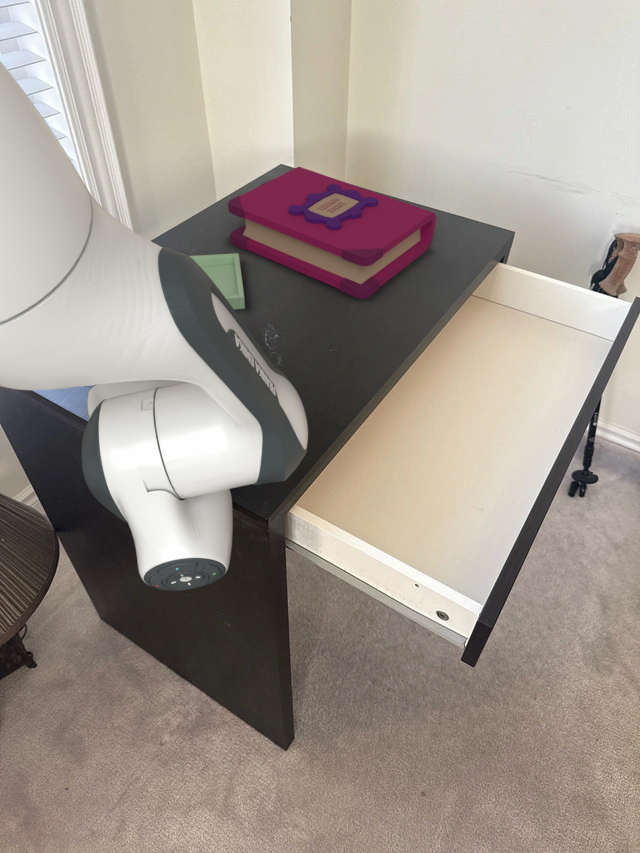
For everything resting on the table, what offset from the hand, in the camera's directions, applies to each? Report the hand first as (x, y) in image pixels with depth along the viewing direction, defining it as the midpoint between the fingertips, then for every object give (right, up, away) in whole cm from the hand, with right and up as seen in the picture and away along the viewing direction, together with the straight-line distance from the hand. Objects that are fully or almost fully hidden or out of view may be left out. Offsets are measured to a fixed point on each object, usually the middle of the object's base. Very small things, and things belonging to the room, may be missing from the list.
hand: (183, 361), depth 75 cm
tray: (-3, +13, +22) cm, 26 cm away
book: (+18, +23, +33) cm, 44 cm away
